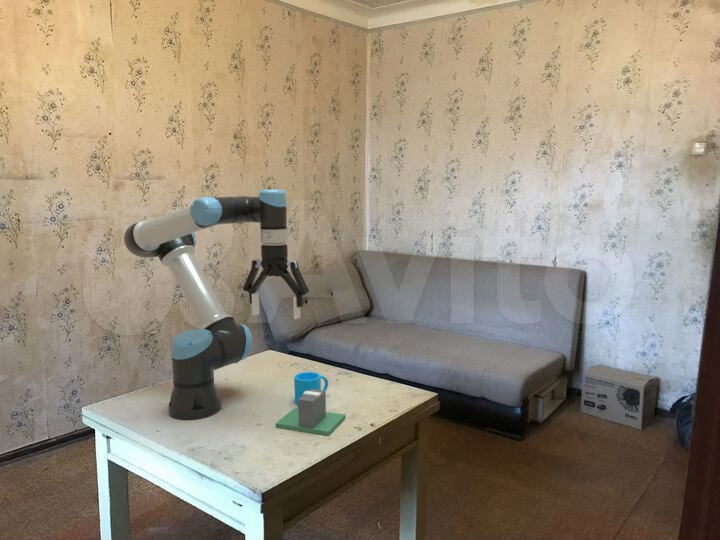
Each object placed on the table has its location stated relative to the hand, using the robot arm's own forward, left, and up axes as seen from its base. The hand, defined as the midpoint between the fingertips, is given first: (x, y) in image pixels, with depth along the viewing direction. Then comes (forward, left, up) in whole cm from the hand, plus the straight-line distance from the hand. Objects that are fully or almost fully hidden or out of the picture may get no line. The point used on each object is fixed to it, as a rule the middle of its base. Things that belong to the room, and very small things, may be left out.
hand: (276, 316), depth 159 cm
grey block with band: (+14, -6, -28) cm, 31 cm away
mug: (+6, +11, -29) cm, 32 cm away
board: (+13, -5, -29) cm, 32 cm away
